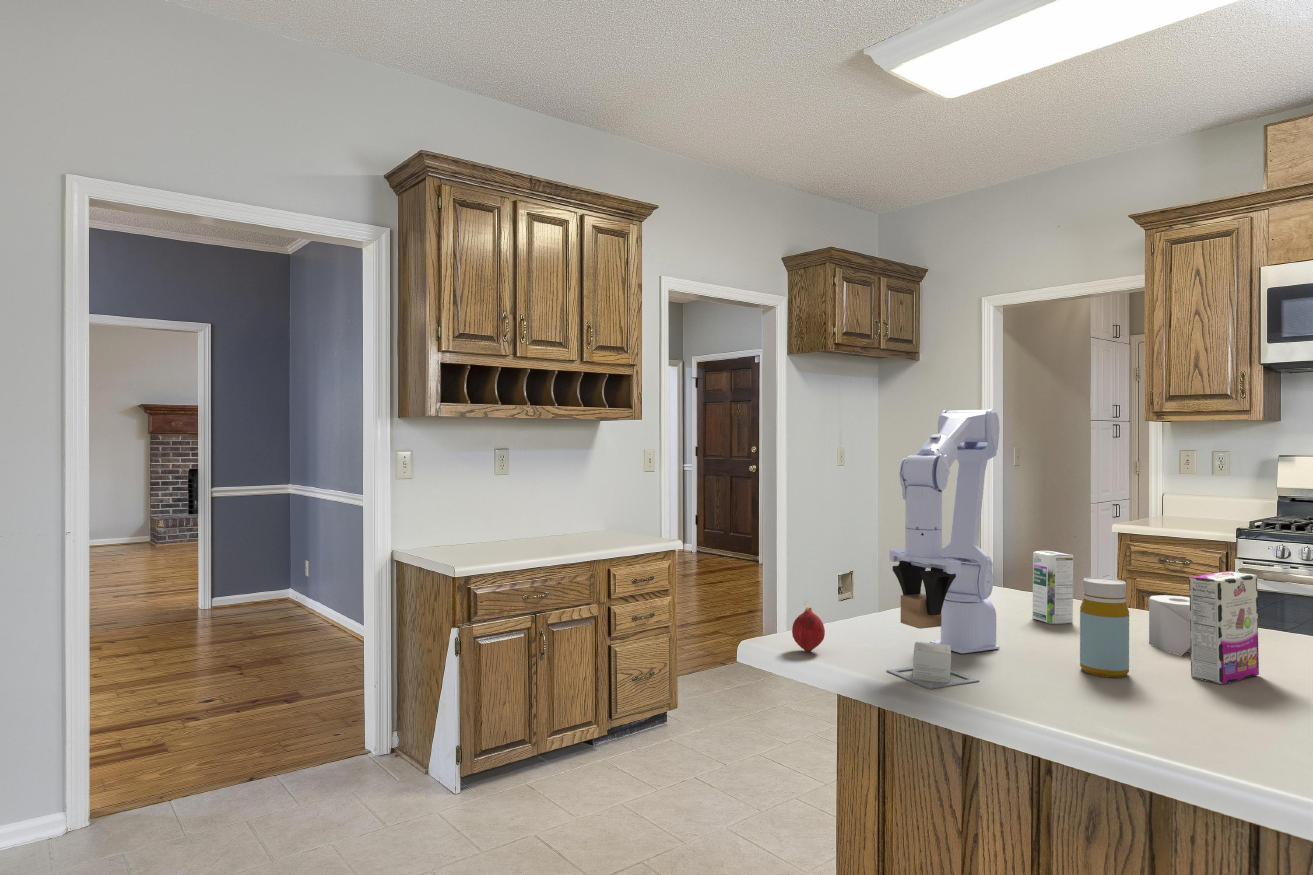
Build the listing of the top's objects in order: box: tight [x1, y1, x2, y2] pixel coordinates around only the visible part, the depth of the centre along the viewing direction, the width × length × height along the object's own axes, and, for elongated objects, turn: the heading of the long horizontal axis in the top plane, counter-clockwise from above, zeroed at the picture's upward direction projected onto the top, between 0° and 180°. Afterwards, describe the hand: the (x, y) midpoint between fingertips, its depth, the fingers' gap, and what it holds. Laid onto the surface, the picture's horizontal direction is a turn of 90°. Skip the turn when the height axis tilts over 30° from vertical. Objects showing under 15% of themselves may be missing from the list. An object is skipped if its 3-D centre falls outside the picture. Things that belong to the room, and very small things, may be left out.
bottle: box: [1079, 577, 1130, 679], centre depth 129 cm, size 7×7×15 cm
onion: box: [791, 606, 826, 653], centre depth 140 cm, size 6×6×8 cm
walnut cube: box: [900, 593, 942, 629], centre depth 128 cm, size 4×4×4 cm
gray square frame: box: [885, 666, 980, 690], centre depth 126 cm, size 10×10×1 cm
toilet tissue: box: [1148, 594, 1191, 656], centre depth 144 cm, size 9×13×9 cm
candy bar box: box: [1188, 571, 1260, 685], centre depth 127 cm, size 11×5×16 cm, turn 118°
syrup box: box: [1031, 550, 1074, 625], centre depth 166 cm, size 6×6×14 cm
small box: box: [912, 641, 952, 684], centre depth 126 cm, size 6×6×5 cm
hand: (923, 611), depth 128 cm, fingers closed on walnut cube, 4 cm apart
